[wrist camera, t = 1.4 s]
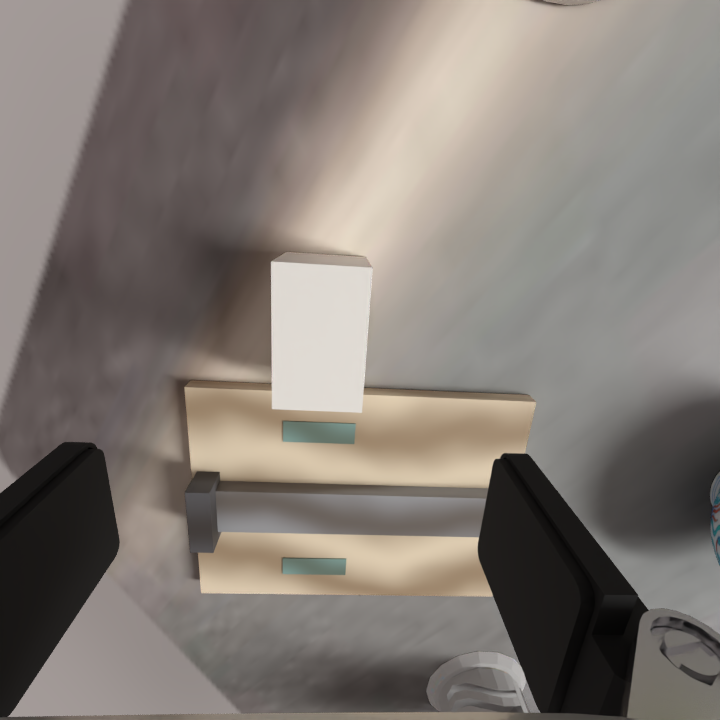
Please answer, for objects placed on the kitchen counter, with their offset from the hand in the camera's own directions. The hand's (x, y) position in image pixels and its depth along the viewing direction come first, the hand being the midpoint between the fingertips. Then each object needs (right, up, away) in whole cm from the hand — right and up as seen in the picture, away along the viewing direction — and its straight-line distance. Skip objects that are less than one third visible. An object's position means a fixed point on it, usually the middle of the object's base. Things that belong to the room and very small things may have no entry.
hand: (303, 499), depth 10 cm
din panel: (+1, -7, +22) cm, 23 cm away
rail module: (-1, +6, +17) cm, 18 cm away
